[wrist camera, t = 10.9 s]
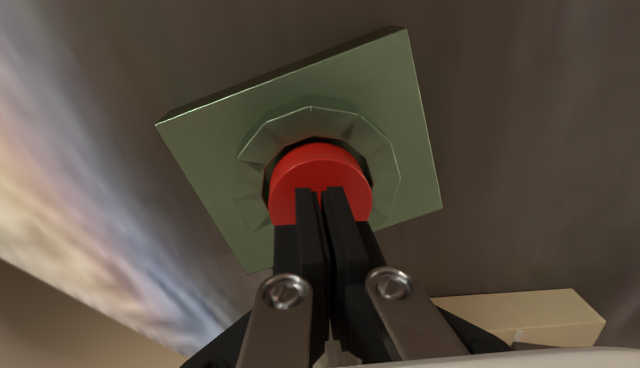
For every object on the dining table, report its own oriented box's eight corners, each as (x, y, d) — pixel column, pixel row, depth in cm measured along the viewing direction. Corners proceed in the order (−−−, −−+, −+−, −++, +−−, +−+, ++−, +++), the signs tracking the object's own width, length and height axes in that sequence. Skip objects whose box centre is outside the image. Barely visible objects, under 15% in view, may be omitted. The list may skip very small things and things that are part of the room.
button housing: (391, 25, 15) (424, 30, 12) (427, 188, 19) (459, 228, 16) (169, 110, 16) (136, 139, 12) (250, 250, 20) (243, 301, 17)
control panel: (572, 287, 24) (609, 323, 22) (530, 374, 29) (557, 413, 26) (411, 298, 23) (429, 337, 21) (394, 387, 28) (407, 429, 25)
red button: (347, 127, 13) (356, 142, 12) (373, 207, 15) (383, 229, 14) (254, 161, 14) (250, 181, 12) (290, 236, 15) (291, 261, 14)
